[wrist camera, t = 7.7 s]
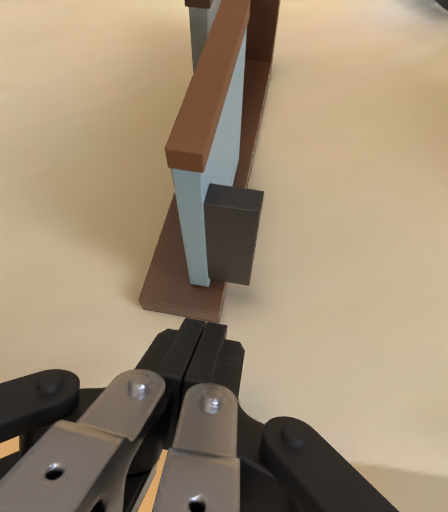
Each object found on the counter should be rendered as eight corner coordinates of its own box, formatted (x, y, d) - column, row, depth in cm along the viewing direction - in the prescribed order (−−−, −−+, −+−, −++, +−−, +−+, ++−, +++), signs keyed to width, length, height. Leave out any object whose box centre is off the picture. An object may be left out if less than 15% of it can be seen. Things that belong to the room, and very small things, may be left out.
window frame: (271, 69, 36) (294, -109, 25) (218, 323, 23) (216, 186, 12) (222, 63, 37) (223, -115, 25) (142, 309, 23) (70, 163, 12)
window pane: (270, 163, 27) (296, 2, 18) (247, 294, 22) (268, 163, 12) (222, 156, 28) (223, -6, 18) (188, 284, 22) (164, 148, 13)
